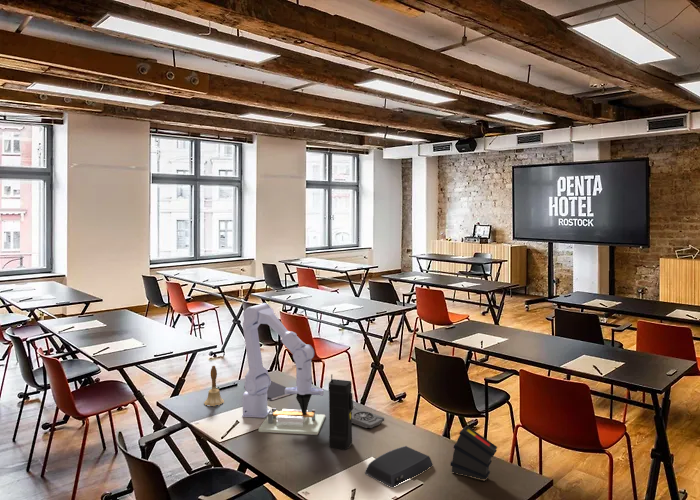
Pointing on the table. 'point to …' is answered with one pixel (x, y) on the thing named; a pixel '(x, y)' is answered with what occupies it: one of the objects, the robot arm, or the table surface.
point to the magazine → (472, 454)
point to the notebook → (275, 391)
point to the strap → (292, 413)
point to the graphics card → (365, 418)
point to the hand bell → (214, 391)
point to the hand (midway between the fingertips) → (304, 412)
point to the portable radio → (340, 414)
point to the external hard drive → (398, 466)
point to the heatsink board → (305, 430)
